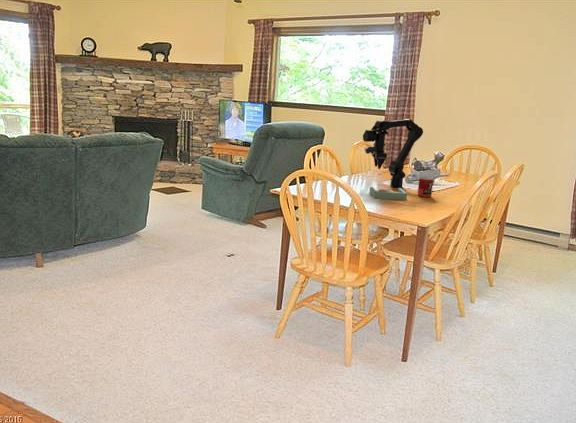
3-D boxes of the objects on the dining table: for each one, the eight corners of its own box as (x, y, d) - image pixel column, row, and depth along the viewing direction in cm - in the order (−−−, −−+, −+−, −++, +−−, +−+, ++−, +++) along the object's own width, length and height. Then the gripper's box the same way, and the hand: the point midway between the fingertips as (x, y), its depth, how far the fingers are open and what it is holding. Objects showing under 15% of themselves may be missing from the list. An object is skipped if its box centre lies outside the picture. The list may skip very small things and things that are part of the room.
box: (400, 194, 304) (401, 188, 303) (406, 199, 290) (407, 193, 289) (369, 192, 303) (369, 186, 302) (373, 198, 289) (374, 192, 288)
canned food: (423, 198, 296) (426, 178, 293) (414, 195, 303) (416, 176, 300) (434, 197, 299) (436, 178, 297) (424, 194, 306) (426, 175, 304)
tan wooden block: (390, 195, 299) (391, 189, 298) (393, 198, 292) (394, 192, 292) (378, 195, 299) (379, 189, 298) (381, 198, 292) (381, 191, 291)
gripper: (363, 139, 322) (361, 164, 326) (369, 142, 304) (366, 169, 308) (381, 140, 323) (379, 165, 327) (388, 143, 305) (385, 170, 309)
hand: (377, 167), depth 317 cm, fingers open, 9 cm apart
